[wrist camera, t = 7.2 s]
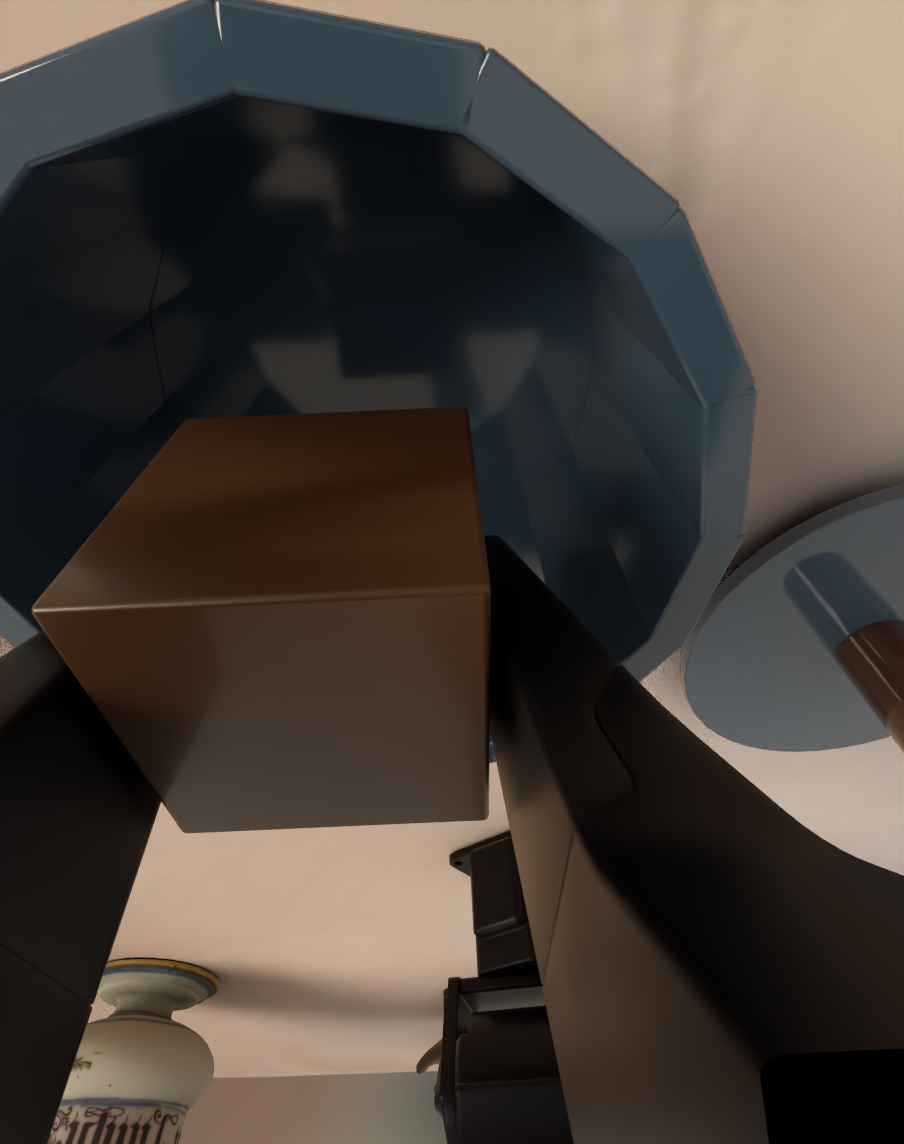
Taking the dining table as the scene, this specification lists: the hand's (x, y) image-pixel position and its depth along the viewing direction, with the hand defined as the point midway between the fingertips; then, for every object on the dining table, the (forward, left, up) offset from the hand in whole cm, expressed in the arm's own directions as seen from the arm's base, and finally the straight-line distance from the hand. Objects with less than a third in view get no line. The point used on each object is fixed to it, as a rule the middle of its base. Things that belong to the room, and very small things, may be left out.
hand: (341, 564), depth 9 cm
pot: (0, 0, -8) cm, 8 cm away
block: (0, 0, -1) cm, 1 cm away
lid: (-18, -8, -7) cm, 21 cm away
